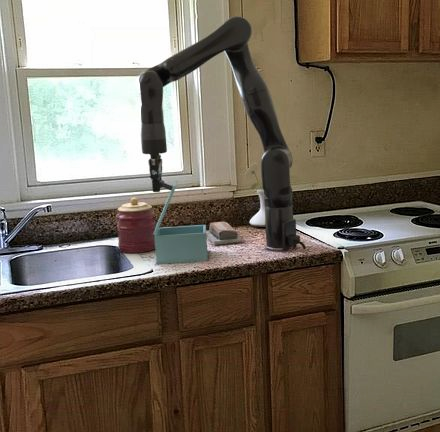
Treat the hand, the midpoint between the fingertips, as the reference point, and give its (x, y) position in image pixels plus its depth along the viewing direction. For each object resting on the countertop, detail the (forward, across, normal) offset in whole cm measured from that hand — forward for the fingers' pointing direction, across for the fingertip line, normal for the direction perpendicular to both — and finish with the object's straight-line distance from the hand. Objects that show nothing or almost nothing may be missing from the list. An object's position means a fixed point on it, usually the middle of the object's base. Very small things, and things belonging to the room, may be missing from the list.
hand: (157, 189), depth 199 cm
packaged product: (+22, +22, -20) cm, 37 cm away
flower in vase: (+22, +39, -35) cm, 57 cm away
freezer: (+22, 0, -6) cm, 23 cm away
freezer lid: (+6, 0, -2) cm, 6 cm away
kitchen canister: (+22, +16, +9) cm, 29 cm away
